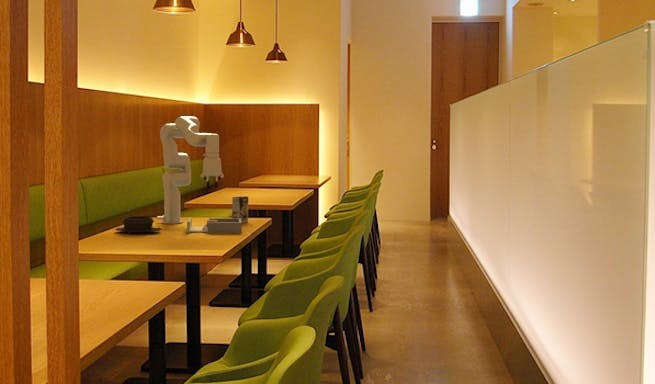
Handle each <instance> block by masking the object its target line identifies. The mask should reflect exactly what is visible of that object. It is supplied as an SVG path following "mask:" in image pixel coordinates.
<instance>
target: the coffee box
mask: <svg viewBox="0 0 655 384" xmlns="http://www.w3.org/2000/svg"><path fill="white" fill-rule="evenodd" d="M231 200H232V202H231V203H232V204H231V205H232V207H231V208H232V209H231V211H232V213H231V218H241V222H242V224H246V222H247V223H248V222H249V196H241V195H240V196H232V198H231Z"/></svg>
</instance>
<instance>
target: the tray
mask: <svg viewBox="0 0 655 384" xmlns="http://www.w3.org/2000/svg"><path fill="white" fill-rule="evenodd" d="M192 219H193V218H192V216H191V217H190V216H189V217H188V219H187V221H186V233H187V234H190V233H208V227H207V223H205V224H202V226H192Z"/></svg>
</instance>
